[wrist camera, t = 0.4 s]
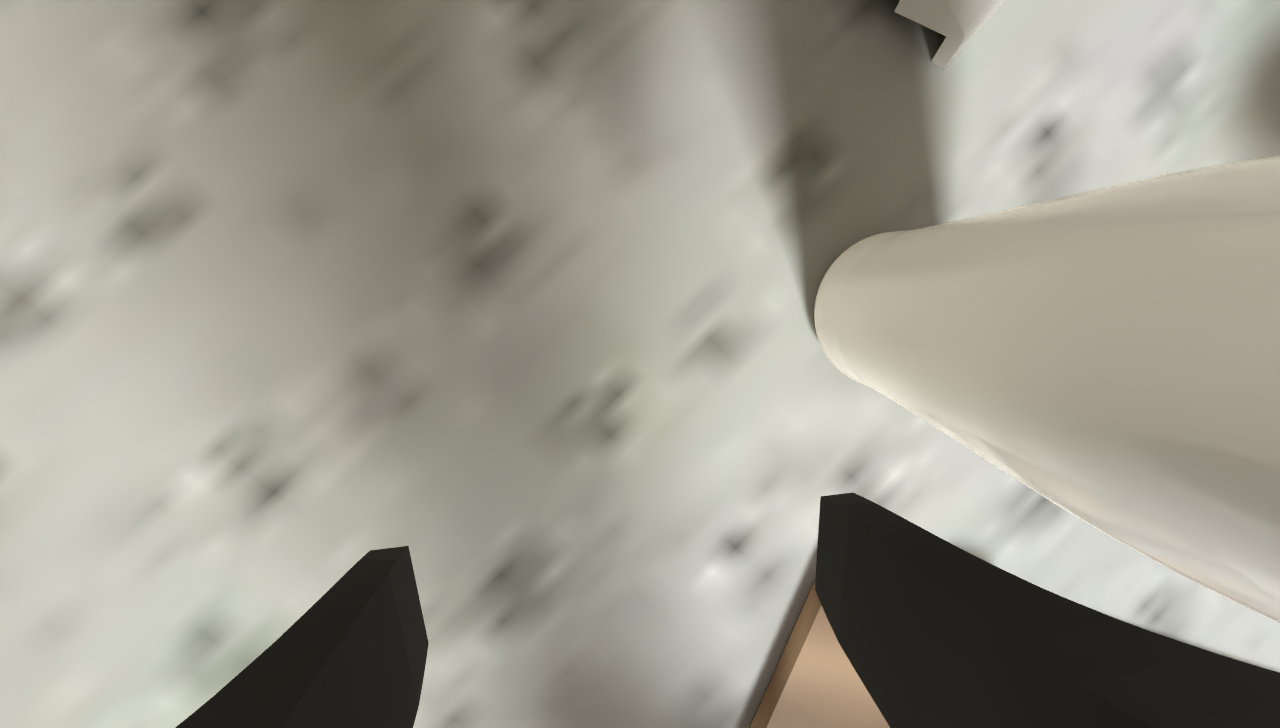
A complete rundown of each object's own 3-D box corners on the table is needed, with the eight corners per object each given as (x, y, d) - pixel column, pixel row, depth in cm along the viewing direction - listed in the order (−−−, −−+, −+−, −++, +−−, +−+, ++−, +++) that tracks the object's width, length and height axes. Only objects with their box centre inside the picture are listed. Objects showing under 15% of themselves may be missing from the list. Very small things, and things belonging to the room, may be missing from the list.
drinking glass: (749, 300, 20) (1207, 415, 6) (899, 169, 20) (1773, -57, 6) (860, 437, 22) (1452, 810, 7) (1002, 317, 22) (1907, 448, 7)
